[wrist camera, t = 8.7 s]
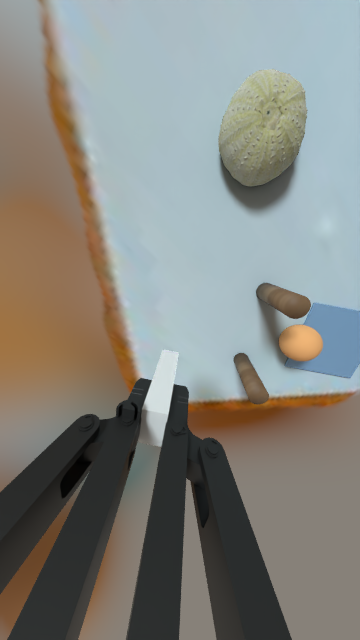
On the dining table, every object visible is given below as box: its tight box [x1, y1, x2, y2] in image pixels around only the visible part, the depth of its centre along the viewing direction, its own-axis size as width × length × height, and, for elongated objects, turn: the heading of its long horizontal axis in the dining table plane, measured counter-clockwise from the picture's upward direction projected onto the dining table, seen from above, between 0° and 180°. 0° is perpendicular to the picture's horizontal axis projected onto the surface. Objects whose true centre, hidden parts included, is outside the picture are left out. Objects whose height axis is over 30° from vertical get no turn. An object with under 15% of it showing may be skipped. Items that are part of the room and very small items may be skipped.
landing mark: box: [285, 303, 360, 378], centre depth 29 cm, size 12×12×1 cm
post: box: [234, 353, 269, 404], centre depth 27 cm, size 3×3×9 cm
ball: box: [279, 325, 323, 361], centre depth 27 cm, size 6×6×6 cm
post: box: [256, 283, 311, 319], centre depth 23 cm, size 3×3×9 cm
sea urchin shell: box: [219, 69, 307, 187], centre depth 19 cm, size 9×8×8 cm
